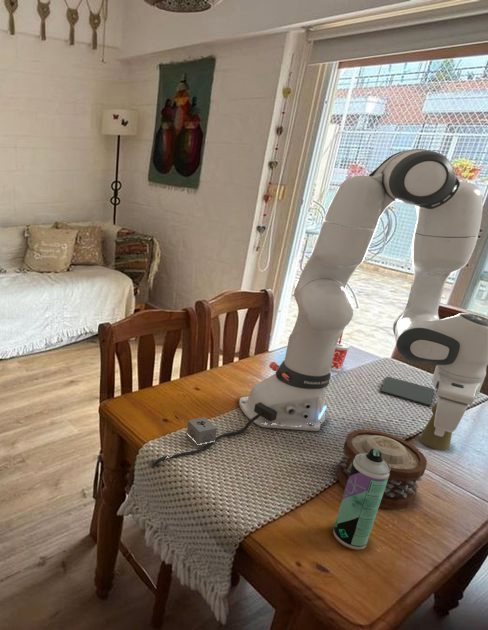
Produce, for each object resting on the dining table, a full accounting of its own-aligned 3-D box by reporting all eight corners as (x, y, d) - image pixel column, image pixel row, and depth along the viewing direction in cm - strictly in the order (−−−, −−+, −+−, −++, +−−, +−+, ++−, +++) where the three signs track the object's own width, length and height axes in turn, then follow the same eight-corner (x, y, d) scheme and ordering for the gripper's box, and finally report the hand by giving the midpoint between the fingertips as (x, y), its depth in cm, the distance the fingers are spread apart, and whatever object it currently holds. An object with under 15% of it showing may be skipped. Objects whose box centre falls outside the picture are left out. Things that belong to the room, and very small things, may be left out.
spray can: (354, 525, 86) (380, 441, 79) (373, 549, 81) (402, 461, 74) (327, 526, 86) (350, 442, 79) (344, 550, 81) (371, 462, 74)
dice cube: (202, 433, 114) (205, 417, 113) (214, 444, 110) (217, 428, 108) (186, 436, 113) (188, 420, 111) (197, 448, 108) (199, 431, 107)
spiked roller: (450, 468, 86) (374, 467, 86) (434, 510, 90) (361, 510, 90) (398, 423, 100) (332, 423, 100) (385, 462, 104) (322, 462, 104)
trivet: (429, 406, 126) (430, 404, 126) (380, 392, 134) (380, 390, 134) (433, 390, 135) (433, 388, 135) (386, 377, 142) (387, 376, 142)
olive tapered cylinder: (437, 452, 108) (451, 413, 104) (413, 437, 113) (426, 400, 109) (455, 447, 109) (470, 410, 105) (431, 433, 114) (444, 397, 111)
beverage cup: (318, 365, 150) (327, 327, 145) (332, 363, 152) (341, 325, 147) (333, 373, 145) (343, 334, 140) (348, 371, 146) (358, 332, 141)
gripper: (441, 361, 114) (426, 406, 119) (437, 392, 99) (419, 442, 104) (474, 368, 110) (456, 415, 115) (474, 402, 96) (454, 454, 100)
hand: (439, 428), depth 110 cm, fingers closed on olive tapered cylinder, 4 cm apart
